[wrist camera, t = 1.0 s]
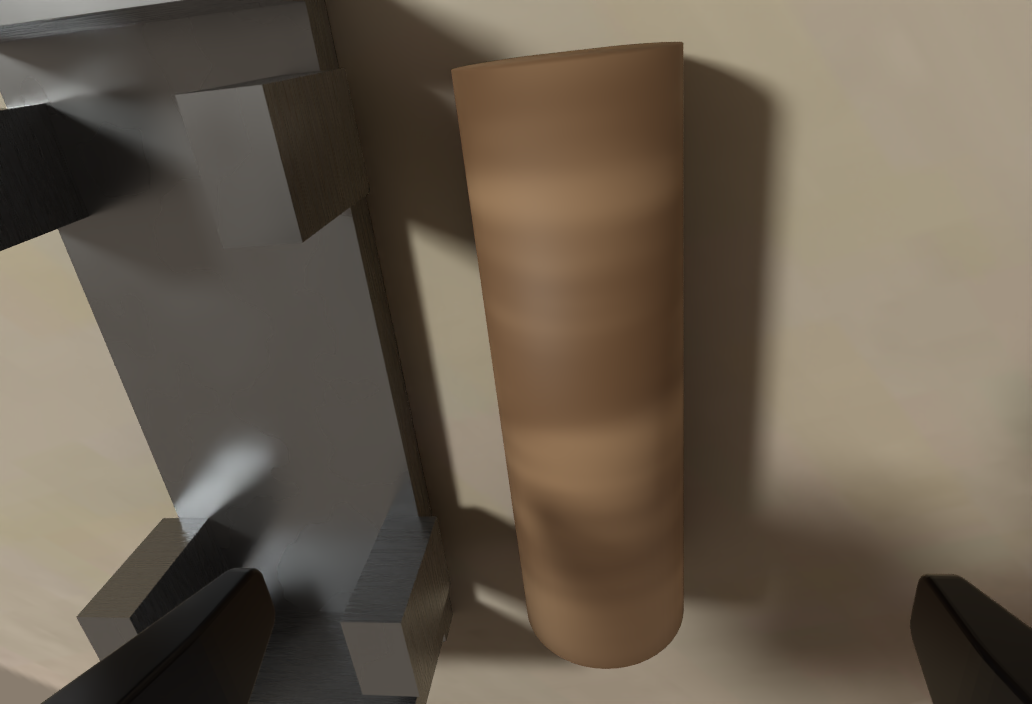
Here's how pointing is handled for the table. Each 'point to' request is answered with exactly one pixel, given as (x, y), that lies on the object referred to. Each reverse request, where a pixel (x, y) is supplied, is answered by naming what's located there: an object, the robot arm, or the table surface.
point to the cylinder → (586, 332)
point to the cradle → (235, 322)
